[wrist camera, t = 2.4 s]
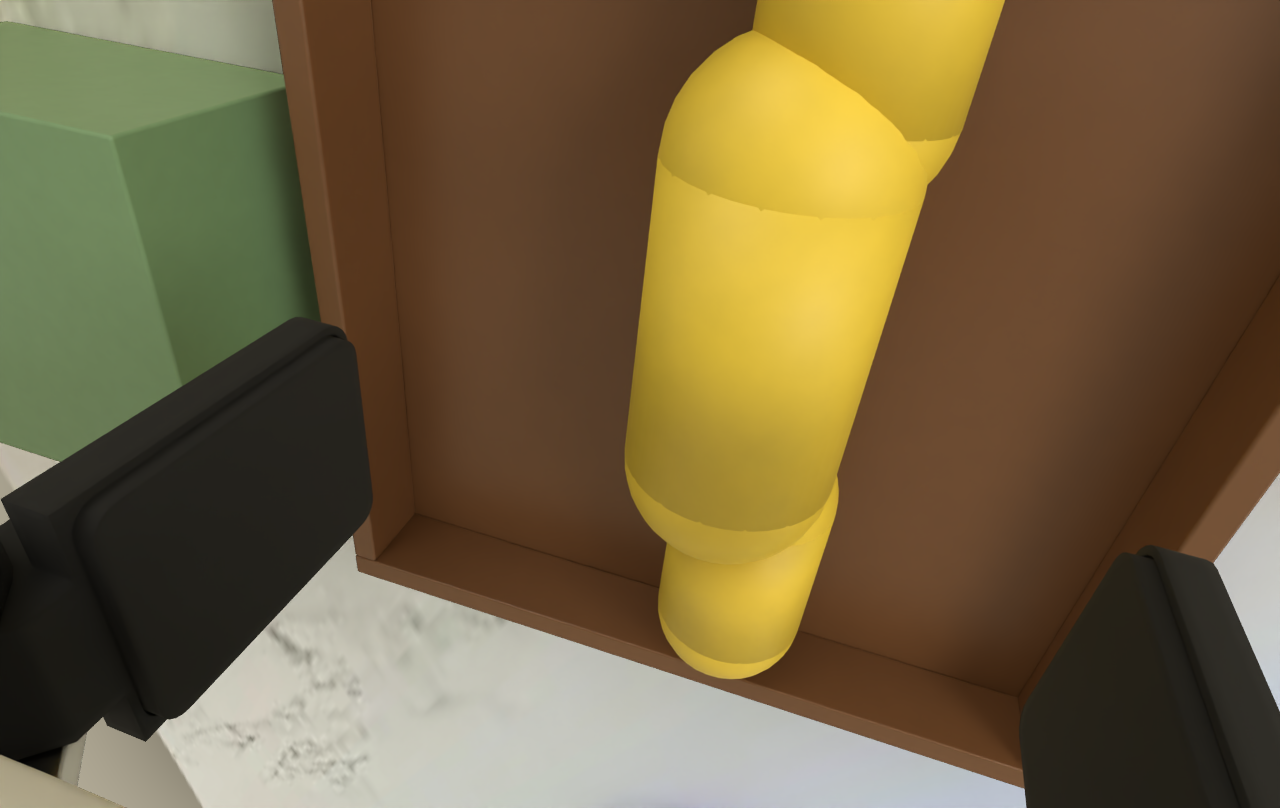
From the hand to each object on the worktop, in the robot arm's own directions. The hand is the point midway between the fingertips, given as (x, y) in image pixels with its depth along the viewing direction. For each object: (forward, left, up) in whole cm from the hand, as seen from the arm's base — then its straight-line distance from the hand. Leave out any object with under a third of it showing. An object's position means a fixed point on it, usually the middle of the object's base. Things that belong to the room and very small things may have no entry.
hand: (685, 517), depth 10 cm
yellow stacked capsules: (0, 0, -7) cm, 7 cm away
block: (+2, -14, -7) cm, 16 cm away
